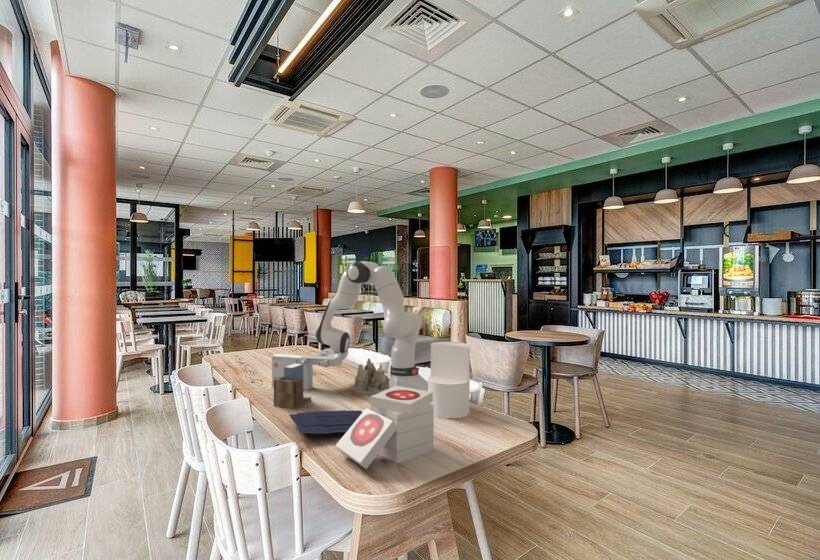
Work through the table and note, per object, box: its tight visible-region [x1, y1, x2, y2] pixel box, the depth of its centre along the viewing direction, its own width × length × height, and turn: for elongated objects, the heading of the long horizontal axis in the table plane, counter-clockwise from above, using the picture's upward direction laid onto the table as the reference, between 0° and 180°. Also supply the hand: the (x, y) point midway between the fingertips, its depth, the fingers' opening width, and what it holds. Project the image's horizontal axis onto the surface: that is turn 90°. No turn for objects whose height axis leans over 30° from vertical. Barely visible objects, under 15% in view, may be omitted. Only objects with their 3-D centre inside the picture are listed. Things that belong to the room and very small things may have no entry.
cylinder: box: [427, 341, 471, 419], centre depth 169 cm, size 17×17×28 cm
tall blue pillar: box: [284, 364, 303, 381], centre depth 180 cm, size 4×8×15 cm, turn 160°
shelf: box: [273, 377, 312, 410], centre depth 179 cm, size 11×12×12 cm
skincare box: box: [271, 353, 314, 391], centre depth 205 cm, size 21×5×16 cm, turn 73°
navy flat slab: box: [288, 409, 363, 435], centre depth 152 cm, size 24×30×4 cm
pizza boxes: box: [335, 386, 435, 470], centre depth 129 cm, size 19×30×18 cm, turn 129°
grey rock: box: [352, 358, 391, 394], centre depth 201 cm, size 16×16×15 cm
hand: (311, 363), depth 192 cm, fingers open, 8 cm apart
